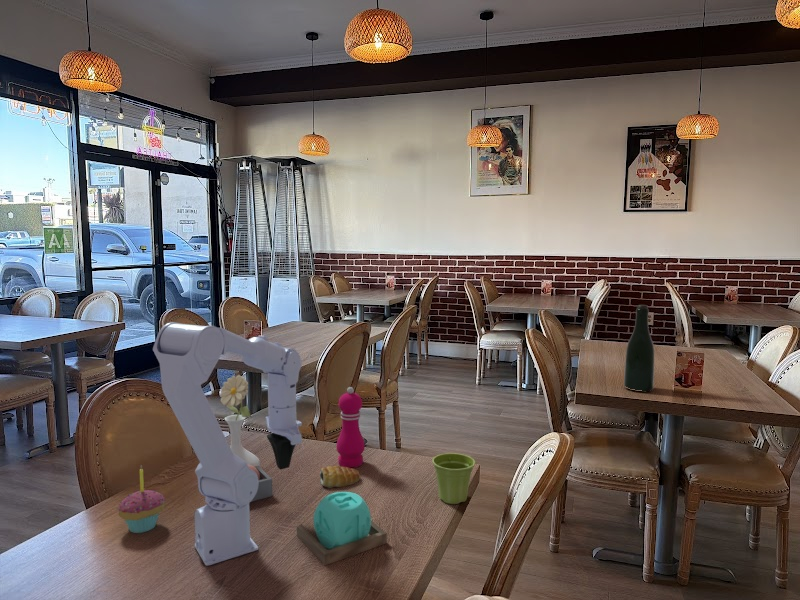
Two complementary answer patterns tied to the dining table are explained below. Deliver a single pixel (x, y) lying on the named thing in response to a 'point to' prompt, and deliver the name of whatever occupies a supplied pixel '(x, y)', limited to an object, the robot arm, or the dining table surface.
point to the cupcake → (141, 508)
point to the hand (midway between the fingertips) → (283, 467)
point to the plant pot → (453, 476)
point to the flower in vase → (237, 416)
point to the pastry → (338, 476)
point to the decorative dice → (341, 519)
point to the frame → (345, 550)
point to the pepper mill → (350, 431)
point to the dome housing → (263, 485)
